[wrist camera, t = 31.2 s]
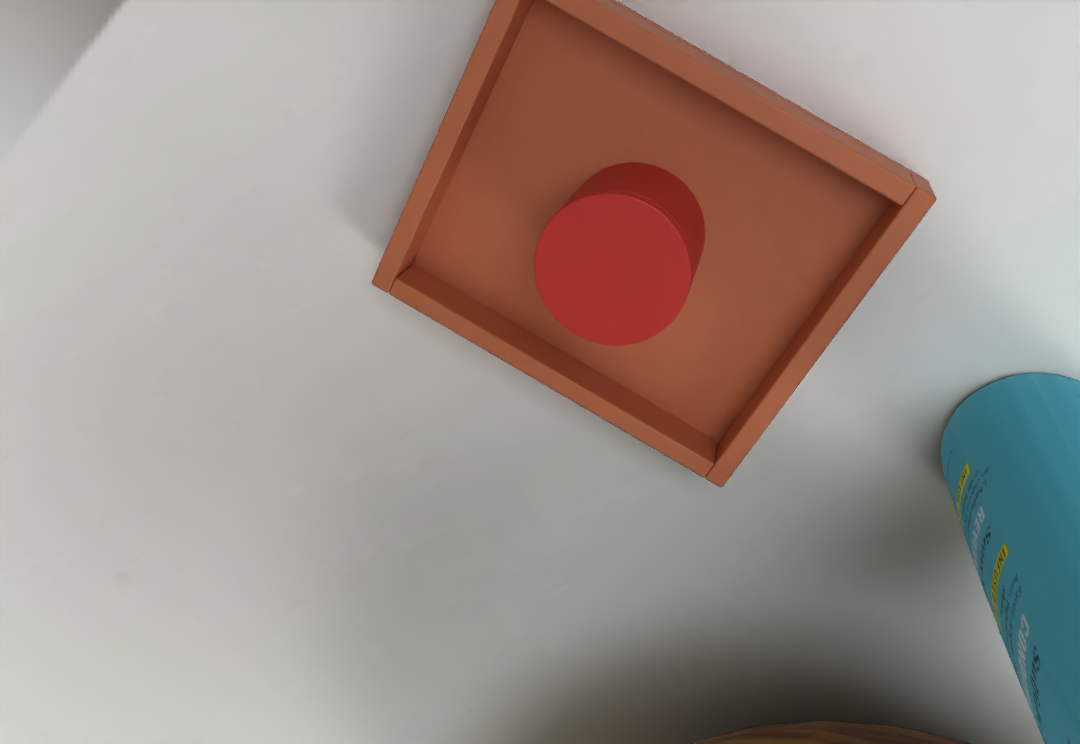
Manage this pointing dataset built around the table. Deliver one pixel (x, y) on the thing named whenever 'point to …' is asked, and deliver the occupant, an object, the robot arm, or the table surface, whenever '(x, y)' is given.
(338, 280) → the table surface
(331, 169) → the table surface
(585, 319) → the cap
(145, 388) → the table surface
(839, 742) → the bowl
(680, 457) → the tray
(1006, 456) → the tube
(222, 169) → the table surface
